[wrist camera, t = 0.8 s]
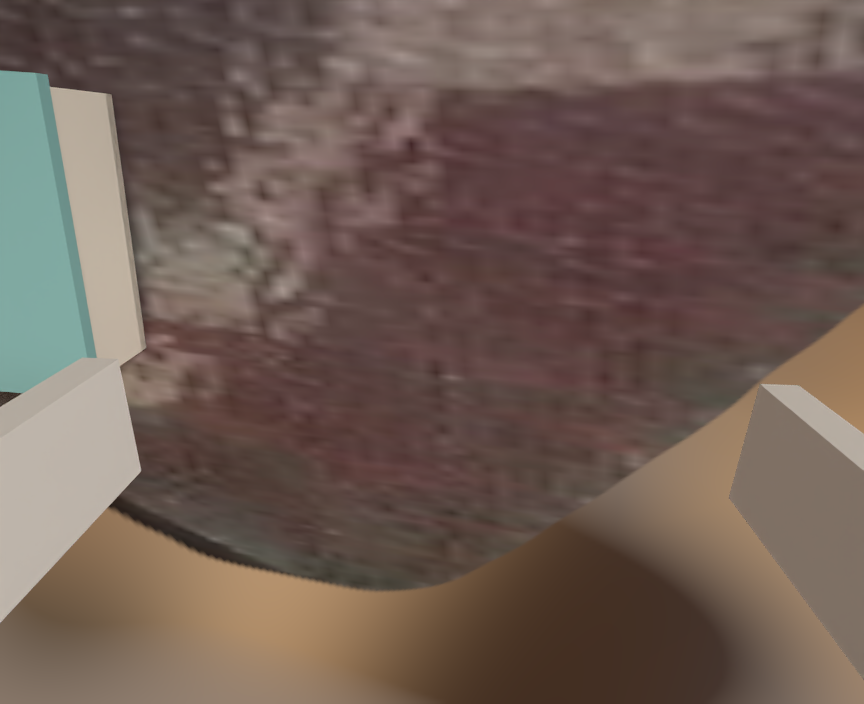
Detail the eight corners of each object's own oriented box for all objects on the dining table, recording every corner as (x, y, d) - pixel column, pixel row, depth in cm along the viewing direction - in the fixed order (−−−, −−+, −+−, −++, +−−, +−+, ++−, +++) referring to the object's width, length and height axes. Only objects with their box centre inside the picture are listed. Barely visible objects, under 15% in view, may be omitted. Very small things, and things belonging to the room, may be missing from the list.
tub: (-90, 80, 32) (-204, 69, 27) (111, 94, 32) (39, 85, 27) (-25, 335, 38) (-107, 369, 33) (146, 348, 38) (93, 384, 33)
